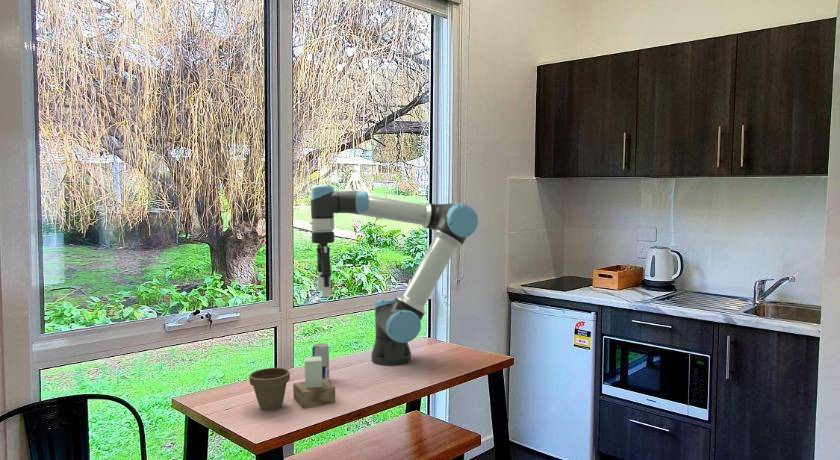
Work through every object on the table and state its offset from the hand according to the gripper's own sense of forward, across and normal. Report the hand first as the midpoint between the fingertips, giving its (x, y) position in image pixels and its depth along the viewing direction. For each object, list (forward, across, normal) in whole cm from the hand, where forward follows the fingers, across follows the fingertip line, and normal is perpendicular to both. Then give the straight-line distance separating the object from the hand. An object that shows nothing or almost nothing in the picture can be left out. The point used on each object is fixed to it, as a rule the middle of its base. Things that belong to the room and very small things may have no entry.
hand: (324, 293), depth 202 cm
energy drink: (+29, +4, -2) cm, 29 cm away
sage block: (+24, +23, -6) cm, 34 cm away
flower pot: (+29, +25, -19) cm, 42 cm away
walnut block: (+29, +23, -6) cm, 38 cm away
